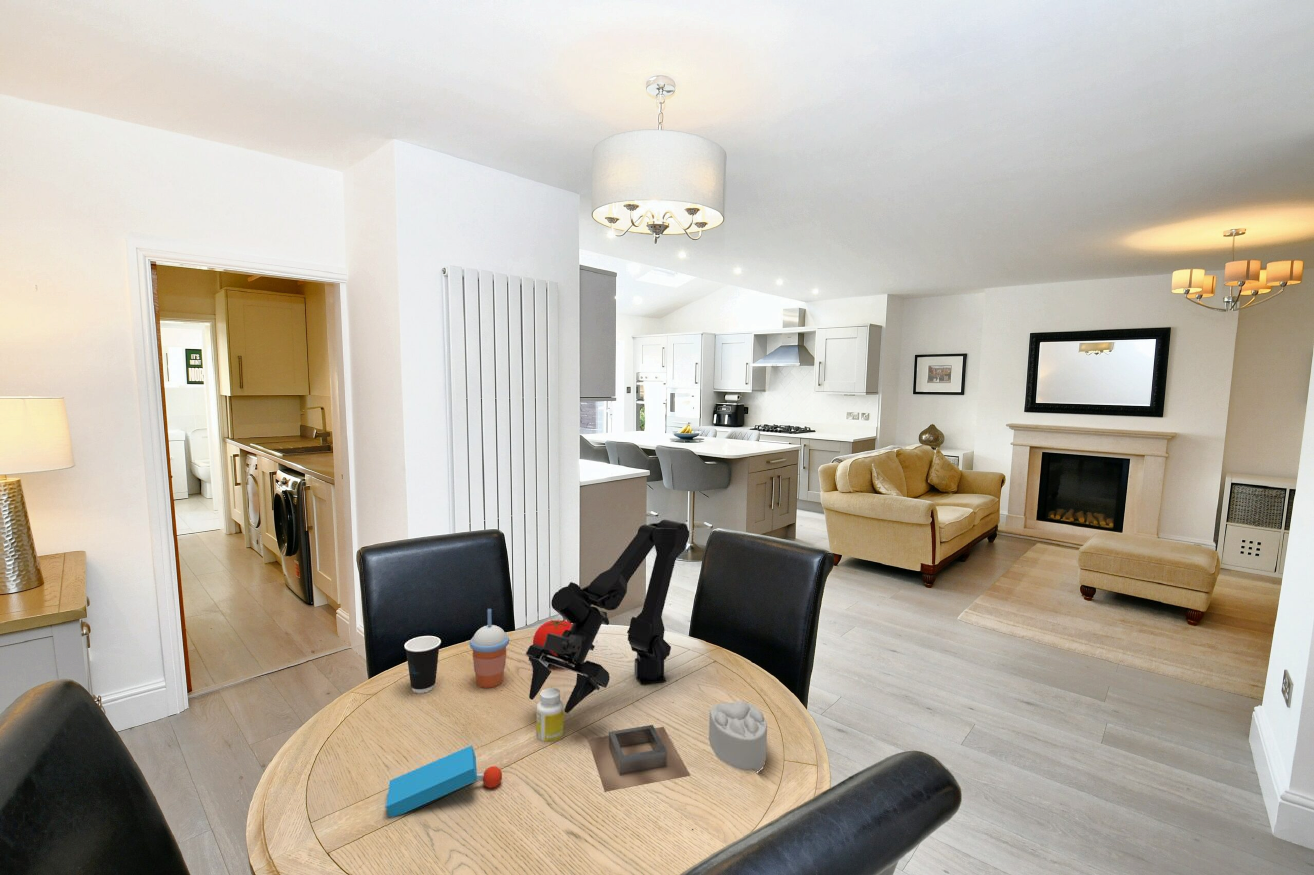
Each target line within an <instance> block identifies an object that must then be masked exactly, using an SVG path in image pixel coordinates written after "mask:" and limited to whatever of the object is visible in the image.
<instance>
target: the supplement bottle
mask: <svg viewBox="0 0 1314 875" xmlns="http://www.w3.org/2000/svg"><path fill="white" fill-rule="evenodd" d="M539 693H540V694H539V696H540V697H539V698H540V699H539V702H538V703H537V705H536V732H535V734H536V738H537V739H538V740H540V741H543V742H554V741H556V740H559V739H560V738H561V737H562V736H564V715H565V714H564V713H565V712H564V709H565V706H564V703H563V701H562V700H561V690H559V689H558V688H555V687H548V688H545V689H543V690H541V691H540V692H539Z"/></svg>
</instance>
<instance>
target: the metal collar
mask: <svg viewBox="0 0 1314 875" xmlns="http://www.w3.org/2000/svg"><path fill="white" fill-rule="evenodd" d="M655 728H656V727H655V726H654V724H651V725H650V724H649V725H643V726H636V727H631V728H626V729H625V728H623V729H618V730H617V729H616V730H611V731H608V736H609V749H610V751H611V754H612V757H613V759H614V762H615V765H616V767H617V770H618V772H619V775H624V774H629V773H635V772H640V771H646V770H651V769H657V768H663V767H666V766H667V751H666V749H665V747H664V745H663V743H662V741H661V740H660V738H659V736H658V734H657V732H656V730H655ZM645 743H649V744H650V746H651V748H652V750H653V751H647V752H641V753H635V754H629V755H623V752H622V750H621V747H627V746H633V745H639V744H645Z"/></svg>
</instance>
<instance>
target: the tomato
mask: <svg viewBox="0 0 1314 875" xmlns="http://www.w3.org/2000/svg"><path fill="white" fill-rule="evenodd" d="M572 624H573V623H569V622H568V621H567V620H565V619H563V620H560V619H558V620H555V619H554V620H553V619H550V620H549V621H546V622H544V623H542V624H541V625H540V626H539V627H538V628H537V629H536V631H535V633H534V635H533V638H532V639H533V640H532V645H533V644H537V645H540V646H544V644H545V640H546V637H547V633H551V634H557V635H562V634H563V632H564V631H565V630H570V628H571V626H572ZM550 651H551V652H552V653H553V654H554V655H556V656H557V654H556V653H554V652H553V651H552V650H550ZM561 663H562V662H561Z"/></svg>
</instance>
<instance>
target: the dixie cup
mask: <svg viewBox="0 0 1314 875" xmlns="http://www.w3.org/2000/svg"><path fill="white" fill-rule="evenodd" d="M441 643H442V640H441V639H440V638H439V637H437V636H433V635H423V636H417V637H414V638H412V639H409V640H408V641H406V642H405V643H404V649H405V651H406V659H407V667H408V673H409V674H408V675H409V681H410V682H409V683H410V687H411V689H412V692H413V691H414V692H413V693H415V692H417V693H416V694H424V692H425V693H428V691H429V692H431V691H432V690H433V689H434V688H435V684H436V682H437V673H438V670H437V669H438V661H439V655H440V654H439V652H440V645H441ZM430 690H431V691H430Z"/></svg>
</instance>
